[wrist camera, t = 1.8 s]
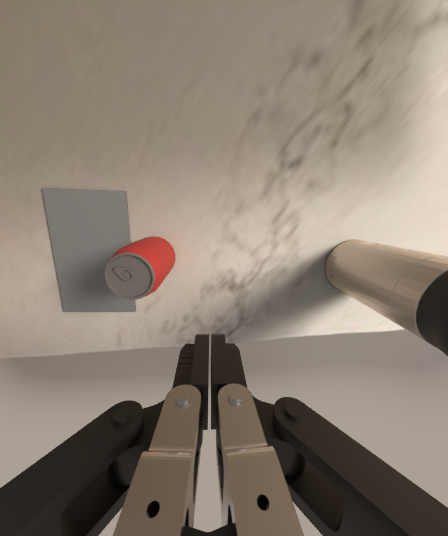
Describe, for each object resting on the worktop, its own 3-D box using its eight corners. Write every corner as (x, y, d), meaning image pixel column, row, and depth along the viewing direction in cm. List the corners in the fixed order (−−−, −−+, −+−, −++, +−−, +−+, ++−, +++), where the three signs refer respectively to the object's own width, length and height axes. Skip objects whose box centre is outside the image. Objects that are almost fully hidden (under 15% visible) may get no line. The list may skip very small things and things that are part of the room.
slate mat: (126, 191, 32) (125, 191, 32) (135, 310, 37) (135, 311, 37) (43, 188, 32) (41, 187, 31) (64, 310, 37) (63, 311, 36)
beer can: (146, 228, 34) (113, 236, 22) (183, 248, 35) (169, 266, 24) (129, 262, 35) (89, 287, 24) (164, 281, 36) (143, 313, 25)
